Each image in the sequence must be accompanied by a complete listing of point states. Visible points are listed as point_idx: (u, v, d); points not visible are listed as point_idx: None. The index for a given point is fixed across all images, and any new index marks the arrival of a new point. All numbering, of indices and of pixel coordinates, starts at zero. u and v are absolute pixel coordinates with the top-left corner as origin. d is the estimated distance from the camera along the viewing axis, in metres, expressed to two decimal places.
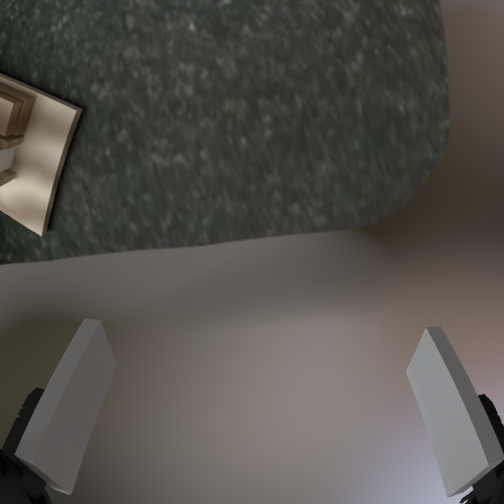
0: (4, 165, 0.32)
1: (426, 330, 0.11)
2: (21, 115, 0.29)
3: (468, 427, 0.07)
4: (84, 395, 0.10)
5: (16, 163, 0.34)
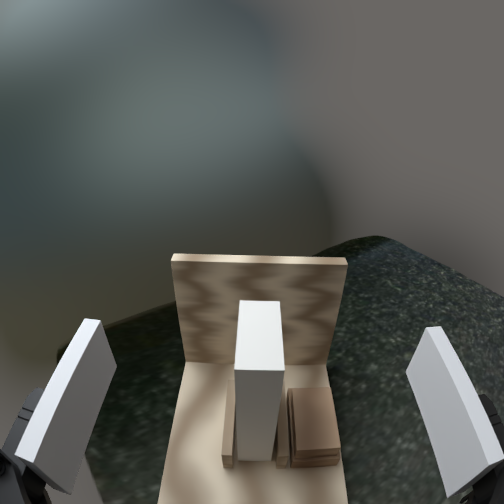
0: (245, 453, 0.28)
1: (426, 330, 0.11)
2: (319, 459, 0.27)
3: (468, 427, 0.07)
4: (84, 395, 0.10)
5: (245, 466, 0.29)
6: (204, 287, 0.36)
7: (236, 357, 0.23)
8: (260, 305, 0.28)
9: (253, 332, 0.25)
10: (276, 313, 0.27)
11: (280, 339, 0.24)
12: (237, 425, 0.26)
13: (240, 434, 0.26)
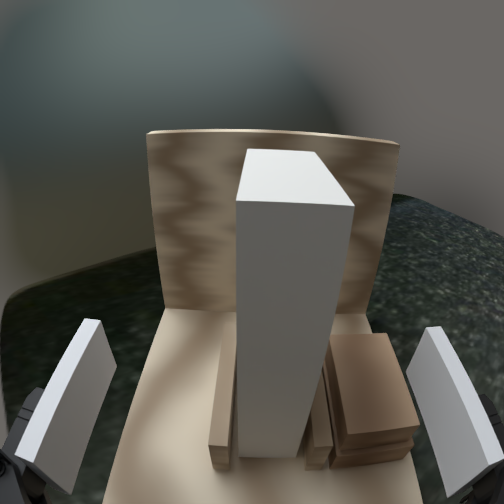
0: (253, 444, 0.16)
1: (426, 330, 0.11)
2: (382, 450, 0.15)
3: (468, 427, 0.07)
4: (84, 395, 0.10)
5: (252, 468, 0.16)
6: (192, 175, 0.24)
7: (241, 187, 0.10)
8: (283, 152, 0.16)
9: (275, 168, 0.13)
10: (312, 157, 0.15)
11: (329, 175, 0.12)
12: (239, 381, 0.13)
13: (244, 403, 0.14)
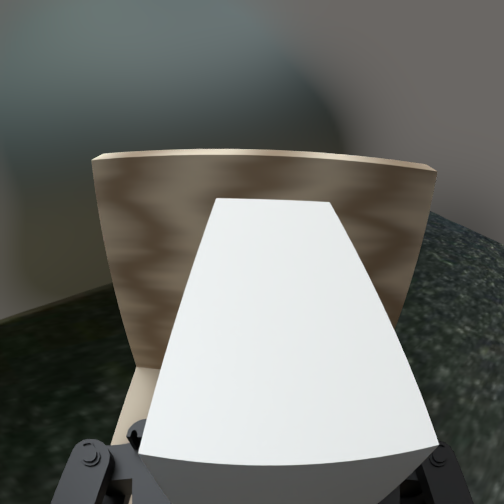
0: None
1: None
2: None
3: None
4: None
5: None
6: (154, 215, 0.17)
7: (164, 379, 0.04)
8: (276, 207, 0.09)
9: (257, 272, 0.06)
10: (328, 223, 0.08)
11: (370, 295, 0.06)
12: None
13: None
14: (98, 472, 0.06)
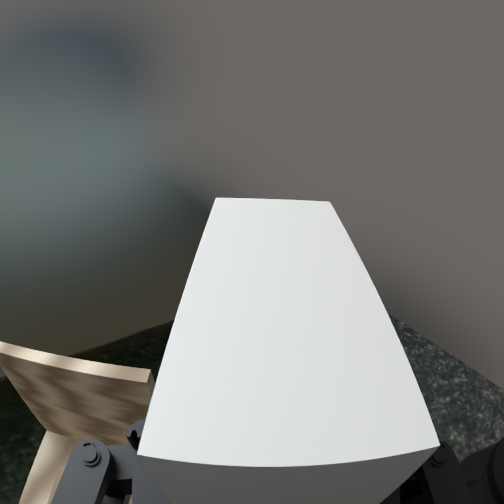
0: None
1: None
2: None
3: None
4: None
5: None
6: (24, 377, 0.26)
7: (163, 379, 0.04)
8: (276, 206, 0.09)
9: (257, 271, 0.06)
10: (328, 222, 0.08)
11: (371, 294, 0.06)
12: None
13: None
14: (98, 472, 0.06)
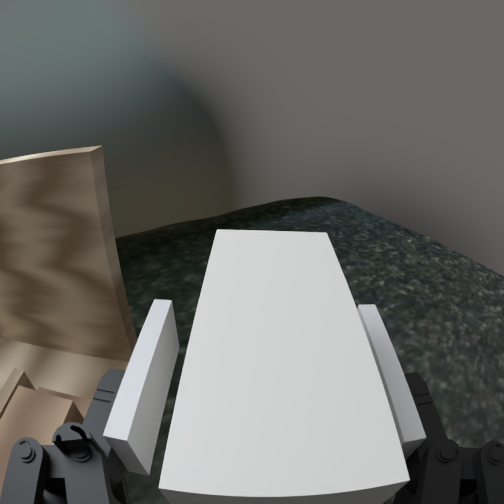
0: None
1: (358, 307, 0.13)
2: None
3: (388, 402, 0.09)
4: (160, 373, 0.11)
5: None
6: None
7: (176, 423, 0.04)
8: (275, 240, 0.10)
9: (256, 315, 0.07)
10: (324, 258, 0.09)
11: (360, 338, 0.06)
12: None
13: None
14: (34, 467, 0.06)
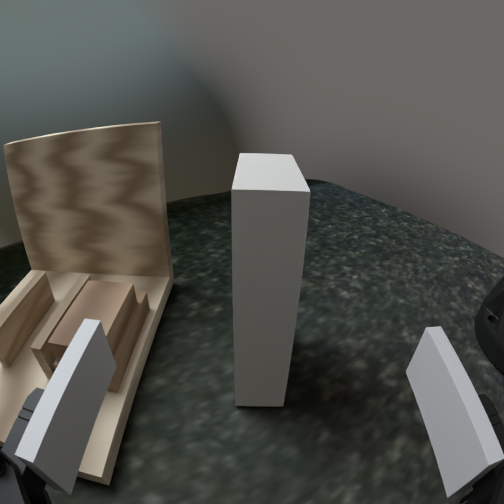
0: (247, 391, 0.21)
1: (426, 330, 0.11)
2: None
3: (468, 427, 0.07)
4: (84, 395, 0.10)
5: (21, 369, 0.21)
6: (28, 170, 0.28)
7: (235, 181, 0.15)
8: (267, 155, 0.21)
9: (259, 168, 0.18)
10: (288, 159, 0.20)
11: (298, 172, 0.17)
12: (235, 326, 0.18)
13: (239, 347, 0.19)
14: None
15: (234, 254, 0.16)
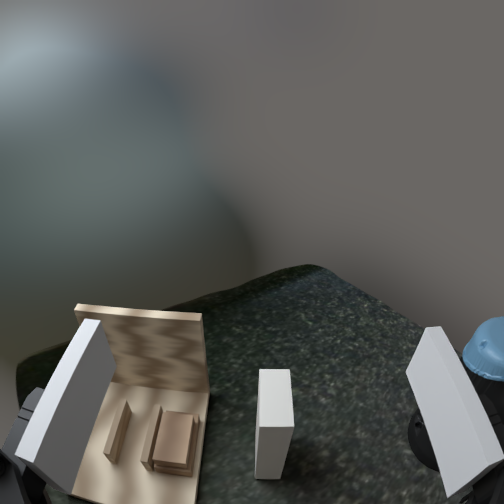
0: (261, 474, 0.36)
1: (426, 330, 0.11)
2: (174, 469, 0.35)
3: (468, 427, 0.07)
4: (84, 395, 0.10)
5: (125, 465, 0.36)
6: None
7: (260, 417, 0.30)
8: (275, 373, 0.36)
9: (271, 397, 0.33)
10: (287, 380, 0.35)
11: (290, 402, 0.32)
12: (257, 457, 0.33)
13: (258, 462, 0.34)
14: None
15: (259, 440, 0.31)
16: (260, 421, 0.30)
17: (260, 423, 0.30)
